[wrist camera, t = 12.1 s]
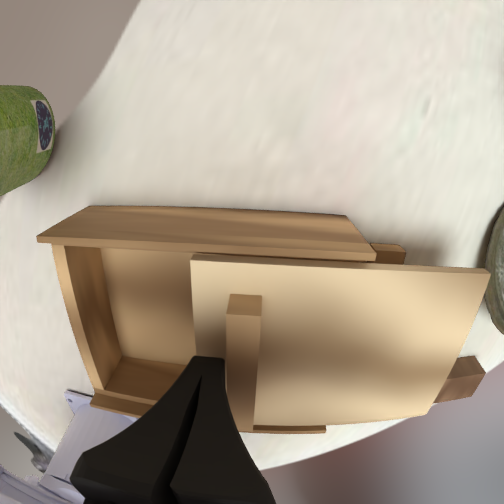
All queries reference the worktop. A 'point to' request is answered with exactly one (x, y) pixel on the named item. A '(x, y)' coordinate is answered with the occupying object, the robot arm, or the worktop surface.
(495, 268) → the grey small piece
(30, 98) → the beverage can
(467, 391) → the walnut key
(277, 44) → the worktop surface
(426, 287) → the sliding lid
